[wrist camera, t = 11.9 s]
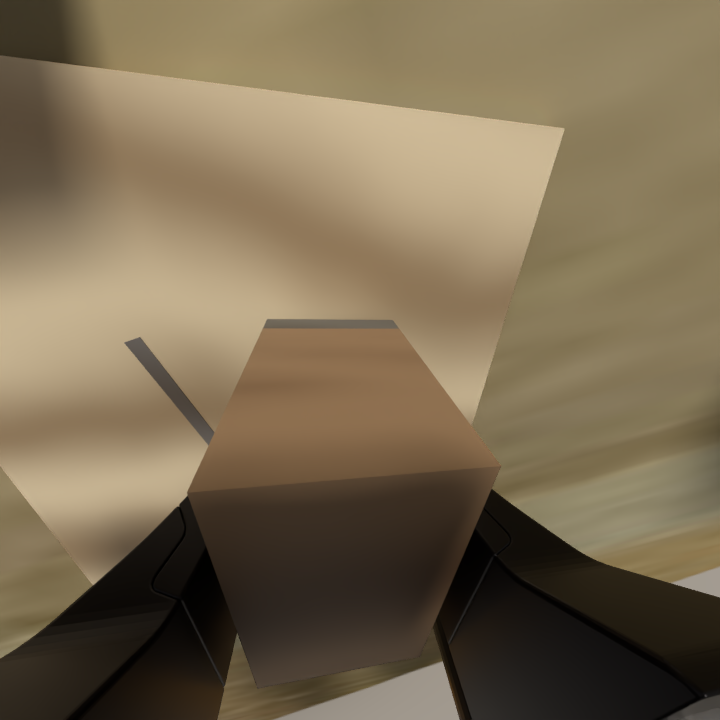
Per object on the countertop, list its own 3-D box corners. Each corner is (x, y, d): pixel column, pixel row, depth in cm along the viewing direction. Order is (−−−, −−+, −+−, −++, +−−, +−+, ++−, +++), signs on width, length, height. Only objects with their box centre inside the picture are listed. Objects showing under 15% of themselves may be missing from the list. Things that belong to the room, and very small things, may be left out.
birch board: (428, 534, 17) (433, 548, 16) (108, 573, 14) (97, 592, 14) (542, 136, 8) (566, 127, 7) (-267, 36, 5) (-361, 7, 5)
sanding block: (375, 467, 12) (419, 656, 7) (283, 474, 12) (258, 688, 6) (392, 319, 9) (501, 466, 4) (267, 319, 8) (186, 492, 3)
